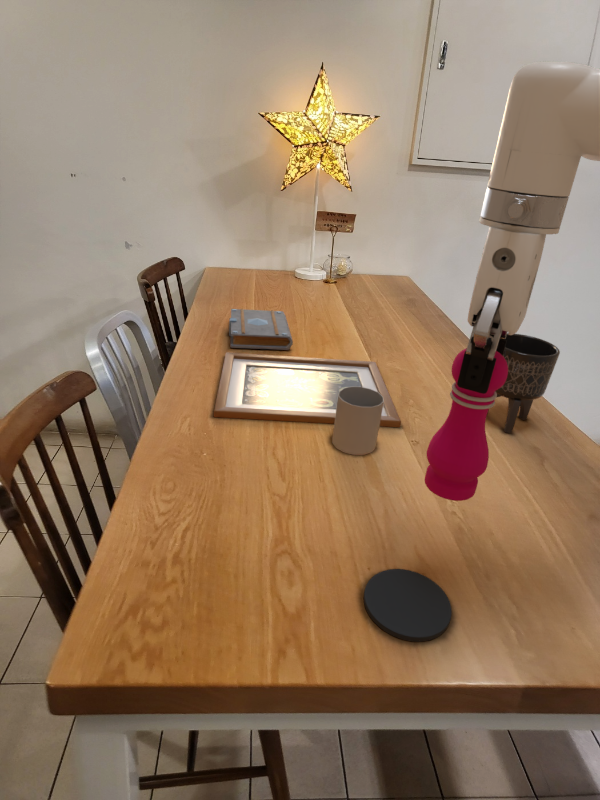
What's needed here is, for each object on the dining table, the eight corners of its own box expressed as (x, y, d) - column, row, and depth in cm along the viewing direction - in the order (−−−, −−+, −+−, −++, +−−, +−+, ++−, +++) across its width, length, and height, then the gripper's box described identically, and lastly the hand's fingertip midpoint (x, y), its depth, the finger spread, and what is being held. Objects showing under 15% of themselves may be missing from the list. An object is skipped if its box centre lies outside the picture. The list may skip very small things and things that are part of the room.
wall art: (225, 351, 134) (375, 361, 137) (225, 357, 135) (374, 366, 138) (213, 410, 107) (401, 421, 110) (213, 417, 107) (400, 427, 110)
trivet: (422, 567, 75) (423, 562, 75) (467, 631, 66) (469, 626, 65) (350, 580, 71) (350, 576, 71) (387, 650, 62) (388, 645, 62)
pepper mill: (489, 489, 68) (534, 339, 59) (459, 512, 63) (503, 352, 54) (440, 463, 72) (475, 320, 63) (408, 482, 67) (442, 331, 58)
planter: (540, 440, 111) (567, 360, 103) (476, 429, 112) (498, 350, 104) (528, 411, 122) (551, 338, 114) (470, 402, 124) (489, 329, 116)
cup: (364, 460, 98) (372, 411, 94) (324, 445, 101) (330, 398, 97) (381, 440, 105) (390, 395, 100) (344, 427, 108) (350, 382, 104)
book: (291, 351, 142) (293, 333, 140) (228, 348, 140) (229, 330, 138) (284, 324, 161) (286, 308, 158) (229, 322, 158) (229, 305, 156)
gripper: (555, 227, 44) (499, 419, 52) (568, 210, 58) (522, 364, 66) (463, 213, 47) (424, 397, 55) (497, 200, 61) (461, 349, 69)
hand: (478, 377), depth 61 cm, fingers closed on pepper mill, 6 cm apart
